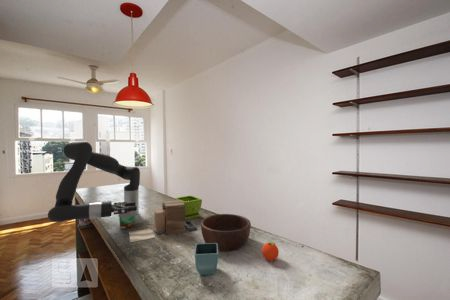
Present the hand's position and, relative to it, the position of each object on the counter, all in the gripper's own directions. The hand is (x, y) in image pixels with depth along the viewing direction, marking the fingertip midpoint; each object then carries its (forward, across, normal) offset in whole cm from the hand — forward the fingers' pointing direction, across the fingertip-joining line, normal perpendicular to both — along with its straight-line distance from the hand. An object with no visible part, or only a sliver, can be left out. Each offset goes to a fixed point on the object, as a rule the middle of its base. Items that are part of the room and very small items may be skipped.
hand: (136, 206), depth 112 cm
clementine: (+50, -50, +16) cm, 72 cm away
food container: (-2, +15, +16) cm, 22 cm away
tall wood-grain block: (+18, 0, +16) cm, 24 cm away
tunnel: (+20, 0, +16) cm, 25 cm away
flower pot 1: (+34, +18, +16) cm, 41 cm away
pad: (+3, 0, +16) cm, 16 cm away
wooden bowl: (+40, -26, +16) cm, 51 cm away
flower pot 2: (+22, -46, +17) cm, 53 cm away
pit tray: (+30, 0, +16) cm, 33 cm away
